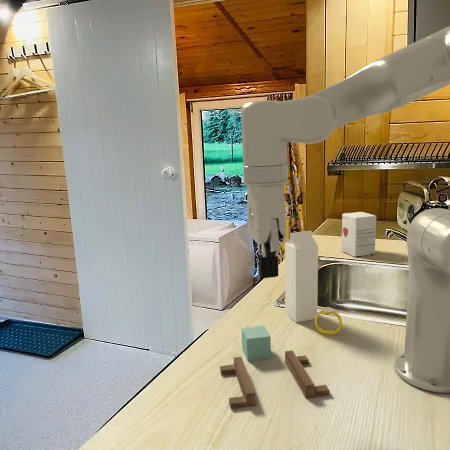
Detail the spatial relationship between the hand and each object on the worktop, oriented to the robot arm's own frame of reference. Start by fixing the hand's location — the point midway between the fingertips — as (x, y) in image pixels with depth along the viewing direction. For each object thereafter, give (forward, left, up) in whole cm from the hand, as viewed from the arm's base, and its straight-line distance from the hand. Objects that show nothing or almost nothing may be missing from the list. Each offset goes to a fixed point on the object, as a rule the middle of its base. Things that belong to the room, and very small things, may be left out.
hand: (268, 275), depth 76 cm
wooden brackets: (0, +2, -20) cm, 20 cm away
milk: (-15, -24, -21) cm, 35 cm away
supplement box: (-54, -71, -21) cm, 91 cm away
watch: (-18, -14, -21) cm, 31 cm away
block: (+1, -9, -21) cm, 22 cm away
